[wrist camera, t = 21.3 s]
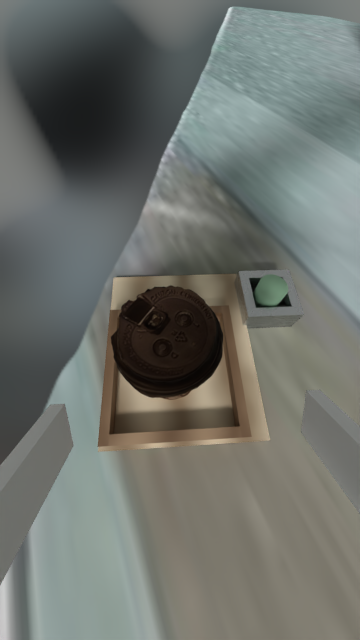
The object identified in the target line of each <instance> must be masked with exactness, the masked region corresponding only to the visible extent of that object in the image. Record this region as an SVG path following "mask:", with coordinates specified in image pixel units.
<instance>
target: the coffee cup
mask: <svg viewBox="0 0 360 640" xmlns="http://www.w3.org/2000/svg"><path fill="white" fill-rule="evenodd" d="M223 336H224V335H223V332H222V329H221V326H220V323H219V320H218V318H217V316H216V315H215V313H214V312H213V311H212V309H211V308H210V307H209V306H208V305H207V304H206V302H205V301H204V299H203V298H201V297H200V296H199V295H198V294H197V293H195V292H194V291H192V290H190V289H183V288H182V287H178V286H177V287H174V286H172V285H170V286H168V287H164V286H163V287H154V288H152V289H147V290H146V291H145V292H144V293H141V294H138V295H137V299H136V300H135V301H132V300H131V301H130V300H128V301H127V302H126V303H124V304H123V305H122V307H121V313H120V314H119V327H118V329H117V331H116V332H115V333H114V334H113V335H112V336H111V344H112V347H113V353H114V356H113V358H114V360H115V362H116V365H117V368H118V370H119V371H120V373H121V374H122V376H123V377H124V378H125V380H126V381H128V382H129V384H130V385H131V386H132V387H133V388H134V389H136V390H137V391H138V392H140V393H141V394H143V395H145V396H148V397H150V398H163V399H167V400H175V399H180V398H183V397H184V396H187V395H188V394H189V393H190V392H191V391H192V390H193V389H196V388H198V387H199V386H200V385H201V384H203V383H204V382H205V381H206V380H208V379H209V378H210V377H211V376H212V375H213V373H214V372H215V370H216V369H217V367H218V365H219V363H220V362H221V359H222V355H223Z"/></svg>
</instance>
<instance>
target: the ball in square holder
mask: <svg viewBox="0 0 360 640" xmlns="http://www.w3.org/2000/svg"><path fill="white" fill-rule="evenodd" d="M270 274H272V275H277V276H279V277H281V278H283V279H284V280H285V281H286V283H287V285H288V292H287V294H286V295H285V297H284V298H283V299H282V300H281V302H280V303H279V304H278V305H277V307H267V308H256V306H255V301H254V297H253V293H252V292H254V290H255V288H256V287H257V285H258V283H259V281H260V279H261V278H262V277H263V276H265V275H270ZM234 283H235V288H236V293H237V298H238V303H239V308H240V313H241V318H242V324H243V325H247V328H266V327H290V326H292V325H293V324H294V323H295V322H297V321H298V320H299V319H300V318H301V317H302V316H303V315H304V313H303V310H302V307H301V304H300V301H299V298H298V295H297V292H296V289H295V286H294V283H293V280H292V277H291V274H290V271H289V270H257V271H238V274H237V277H236V279H235V282H234Z"/></svg>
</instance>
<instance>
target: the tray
mask: <svg viewBox="0 0 360 640" xmlns="http://www.w3.org/2000/svg"><path fill="white" fill-rule="evenodd" d="M236 277H237V276H236V274H208V275H177V276H146V277H115V278H114V280H113V291H112V302H111V310H110V317H109V328H108V339H107V350H106V361H105V372H104V383H103V394H102V405H101V416H100V427H99V438H98V447H99V448H98V452H100V451H116V450H131V449H147V448H162V447H177V446H193V445H208V444H223V443H239V442H254V441H270V437H269V432H268V427H267V423H266V418H265V413H264V408H263V403H262V398H261V393H260V388H259V383H258V379H257V374H256V369H255V364H254V359H253V354H252V349H251V344H250V339H249V335H248V330H247V325H243V324H242V318H241V313H240V308H239V303H238V298H237V293H236V288H235V283H234V282H235V279H236ZM170 285H172V286H174V287H177V286H178V287H182V288H183V289H190V290H192V291H194V292H195V293H197V294H198V295H199V296H200V297H201V298H203V299H204V301H205V302H206V304H207V305H208V306H209V307H210V308H211V309H212V311H213V312H214V313H215V315H216V316H217V318H218V320H219V323H220V326H221V329H222V332H223V335H224V336H223V355H222V359H221V362H220V363H219V365H218V367H217V369H216V370H215V372H214V373H213V375H212V376H211V377H210V378H209V379H208V380H206V381H205V382H204V383H203V384H201V385H200V386H199V387H198V388H196V389H193V390H192V391H191V392H190V393H189V394H188V395H187V396H184V397H183V398H180V399H175V400H167V399H163V398H150V397H148V396H145V395H143V394H141V393H140V392H138V391H137V390H136V389H134V388H133V387H132V386H131V385H130V384H129V382H128V381H126V380H125V378H124V377H123V376H122V374H121V373H120V371H119V370H118V368H117V365H116V362H115V360H114V358H113V356H114V353H113V347H112V344H111V336H112V335H113V334H114V333H115V332H116V331H117V329H118V327H119V314H120V313H121V307H122V305H123V304H124V303H126V302H127V301H128V300H130V301H131V300H132V301H135V300H136V299H137V295H138V294H141V293H144V292H145V291H146V290H147V289H152V288H154V287H163V286H164V287H168V286H170Z"/></svg>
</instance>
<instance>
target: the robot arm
mask: <svg viewBox="0 0 360 640" xmlns="http://www.w3.org/2000/svg"><path fill="white" fill-rule="evenodd" d="M301 433H302V434H303V436H304V437H305V439H306V440H307V441H308V443H309V444H310V445H311V447H312V448H313V450H314V451H315V452H316V454H317V455H318V457H319V458H320V459H321V461H322V462H323V464H324V465H325V466H326V468H327V469H328V470H329V472H330V473H331V475H332V476H333V477H334V479H335V480H336V482H337V483H338V484H339V486H340V487H341V489H342V490H343V491H344V493H345V494H346V495H347V497H348V498H349V500H350V501H351V502H352V504H353V505H354V507H355V508H356V509H357V511H358V512H359V513H360V426H359V425H358V424H356V423H355V422H354V421H353V420H352V419H351V418H350V417H349V416H348V415H347V414H346V413H345V412H343V411H342V410H341V409H340V408H339V407H338V406H337V405H336V404H335V403H334V402H333V401H331V400H330V399H329V398H328V397H327V396H326V395H325V394H324V393H323V392H322V391H321V390H309V391H306V395H305V404H304V412H303V420H302V428H301ZM72 447H73V441H72V436H71V431H70V426H69V422H68V417H67V412H66V407H65V404H54V405H50V406H49V407H48V408H47V409H46V411H45V412H44V413H43V414H42V416H41V417H40V418H39V419H38V420H37V422H36V423H35V424H34V425H33V427H32V428H31V429H30V430H29V432H28V433H27V434H26V435H25V436H24V438H23V439H22V440H21V441H20V442H19V444H18V445H17V446H16V447H15V448H14V450H13V451H12V452H11V453H10V455H9V456H8V457H7V458H6V460H5V461H4V462H3V463H2V464H1V465H0V585H1V583H2V581H3V579H4V577H5V575H6V573H7V571H8V569H9V568H10V566H11V564H12V562H13V560H14V558H15V556H16V554H17V552H18V550H19V548H20V547H21V545H22V543H23V541H24V539H25V537H26V535H27V533H28V531H29V529H30V527H31V526H32V524H33V522H34V520H35V518H36V516H37V514H38V512H39V510H40V508H41V506H42V505H43V503H44V501H45V499H46V497H47V495H48V493H49V491H50V489H51V487H52V485H53V484H54V482H55V480H56V478H57V476H58V474H59V472H60V470H61V468H62V466H63V465H64V463H65V461H66V459H67V457H68V455H69V453H70V451H71V449H72Z"/></svg>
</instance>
